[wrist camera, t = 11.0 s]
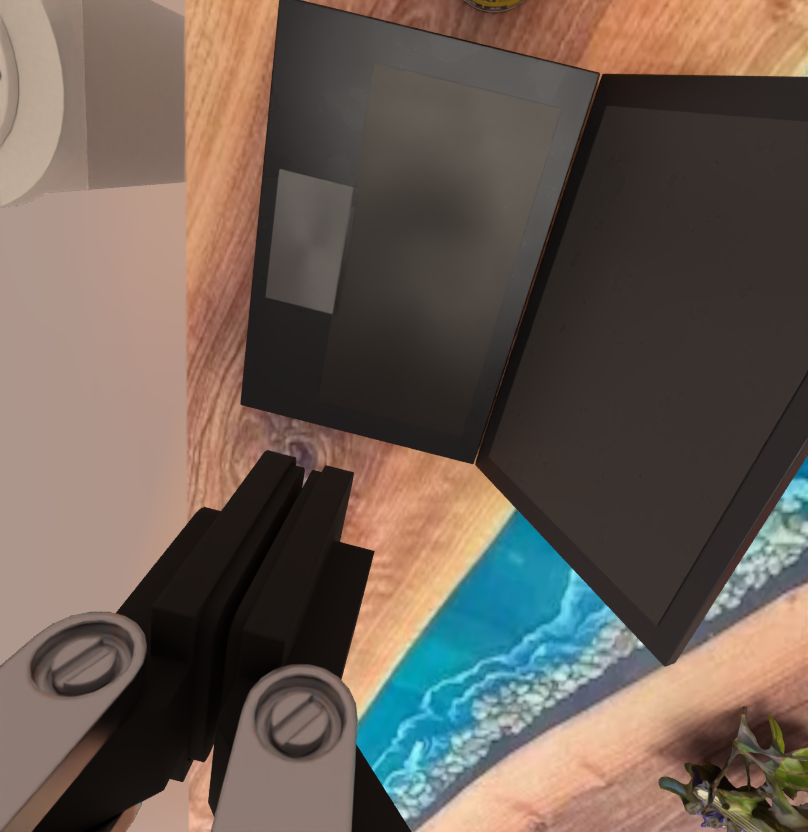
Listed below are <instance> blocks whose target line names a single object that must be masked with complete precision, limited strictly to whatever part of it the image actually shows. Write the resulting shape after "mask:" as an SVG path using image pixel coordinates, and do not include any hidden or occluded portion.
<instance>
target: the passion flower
mask: <svg viewBox="0 0 808 832" xmlns="http://www.w3.org/2000/svg"><path fill="white" fill-rule="evenodd" d="M746 712H747V707H743V713H742V718H741V725H740V729H739V732H738V736H737V738H736V739H735V740H733V741H732V754H731V755H730V756H729V758H728V760H727V761H726V763H725V765H724V767H723V769H722V770H721V769H720V768H719V767H718V766H715V765H713V764H711V763H709V762H706V763H704V764H703V765H702V766H701V765H695V764H690V763H685V765H684V766H685V769H686V770H687V772H688V773H689V774H690V775H691V777H692V778H691V781H690V782H689V784H686V785H685V784H682V783H680V782H679V781H677V780H675V779H673V778H670V777H661V778H660V779H659V785H660V788H661V789H665V790H668V791H670V792H673V793H675V794H677V795H678V796H679V797H680V799H681V800H682V802H683V804H684V807H685V809H686V811H687V812H688V813H689V814H690V815H692V814H693V815H700V816H701V817H703V819H704V820H705V821H704V822H703V823H702V824H701V827H712V828H715V829H717V828H727V832H808V803H806V804H803V805H801V804H800V807H799V806H793V805H790V803H789V802H788V800H787V799H786V797H785V795H784V794H783V792H782V790H783V791H784V793H785V794H786V795H787V796H788V797H790V798H791V799H792V800H794V799H793V798H795V797H796V796H797V795H796V794H797V792H798V791H806V792H808V743H807V744H806V745H805V746H802V747H801V748H798V749H796V750H794V751H790V752H788V753H787V754H784V742H783V738H782V732H781V729H780V727H779V726H778V724H777V722H776V721H775V720H774V719H773V718H772V717H771V716H770V715H767V716H768V720H769V724H770V728H771V732H772V737H773V739H772V744H771V747H770V748H769V749H768V750H763V749H762V748H760V747H759V745H758V743H757V741H756V737H755V736H754V734H753V733H752V732H751V731H750V729H749V727H748V725H747V721H746ZM749 752H752V753H762V754H765V755H767V756H769V757H770V758H771V760H770V761H767V762H763V761H761V760H758V759H756V758H755V757H754V756H753V755H751V754H750V753H749ZM738 754H742V755H743V756H744V759H745V766H746V771H747V777H748V785H746V786H742V787H740V788H736V787H734V786H733V785H732V784H731V783H730V782H729V781H728V779H727V778H726V776H725V773H726V772H727V769H728V767H729V765H730V764H731V762H732V761H733V759H734V758H735V757H736V755H738ZM750 763H755V764H757V765H758V766H759V767H760V768H761V769H762V770H763V772H764V773H765V776H766V782H765V783H764V784H763V785H762V786H760V787H758V788H757V789H756V788H754V787H752V786H751V785H750V775H749V764H750ZM766 797H768V798H770V799H772V807H771V806H770V805H769V804H768V802H767V801H766V800H765V798H766Z"/></svg>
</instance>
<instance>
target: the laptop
mask: <svg viewBox="0 0 808 832" xmlns="http://www.w3.org/2000/svg"><path fill="white" fill-rule="evenodd" d="M599 76H600V73H598V72H594V71H590V70H586V69H582V68H578V67H574V66H569V65H565V64H561V63H557V62H553V61H549V60H545V59H541V58H537V57H532V56H528V55H524V54H520V53H516V52H512V51H508V50H504V49H500V48H495V47H491V46H487V45H483V44H479V43H475V42H471V41H467V40H463V39H458V38H454V37H450V36H446V35H442V34H438V33H434V32H430V31H426V30H421V29H417V28H413V27H409V26H405V25H401V24H397V23H393V22H389V21H384V20H380V19H376V18H372V17H368V16H364V15H360V14H356V13H352V12H347V11H343V10H339V9H335V8H331V7H327V6H323V5H319V4H315V3H310V2H306V1H302V0H279V9H278V19H277V29H276V40H275V50H274V61H273V71H272V81H271V92H270V102H269V113H268V123H267V133H266V144H265V154H264V165H263V175H262V185H261V196H260V206H259V217H258V227H257V237H256V248H255V258H254V269H253V279H252V289H251V300H250V310H249V321H248V331H247V341H246V352H245V362H244V373H243V383H242V393H241V405H243V406H247V407H251V408H255V409H259V410H263V411H267V412H271V413H275V414H279V415H282V416H286V417H290V418H294V419H298V420H302V421H306V422H310V423H314V424H318V425H322V426H325V427H329V428H333V429H337V430H341V431H345V432H349V433H353V434H357V435H361V436H365V437H368V438H372V439H376V440H380V441H384V442H388V443H392V444H396V445H400V446H404V447H407V448H411V449H415V450H419V451H423V452H427V453H431V454H435V455H439V456H443V457H447V458H450V459H454V460H458V461H462V462H466V463H470V464H474V461H475V458H476V455H477V452H478V449H479V446H480V442H481V439H482V436H483V433H484V430H485V427H486V424H487V421H488V418H489V415H490V412H491V409H492V406H493V402H494V399H495V396H496V393H497V390H498V387H499V384H500V381H501V378H502V375H503V372H504V369H505V365H506V362H507V359H508V356H509V353H510V350H511V347H512V344H513V341H514V338H515V335H516V332H517V328H518V325H519V322H520V319H521V316H522V313H523V310H524V307H525V304H526V301H527V298H528V295H529V291H530V288H531V285H532V282H533V279H534V276H535V273H536V270H537V267H538V264H539V261H540V258H541V255H542V251H543V248H544V245H545V242H546V239H547V236H548V233H549V230H550V227H551V224H552V221H553V218H554V214H555V211H556V208H557V205H558V202H559V199H560V196H561V193H562V190H563V187H564V184H565V181H566V177H567V174H568V171H569V168H570V165H571V162H572V159H573V156H574V153H575V150H576V147H577V144H578V141H579V137H580V134H581V131H582V128H583V125H584V122H585V119H586V116H587V113H588V110H589V107H590V104H591V100H592V97H593V94H594V91H595V88H596V85H597V82H598V79H599Z"/></svg>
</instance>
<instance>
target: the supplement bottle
mask: <svg viewBox="0 0 808 832" xmlns="http://www.w3.org/2000/svg"><path fill="white" fill-rule="evenodd" d="M464 1H466V2H467V3H468V4H469V5H471V6H472V7H474V8H476V9H479V10H482V11H485V12H503V11H507V10H510V9H512V8H515V7H517V6H518V5H520V4H522V3H523V2H524V1H525V0H464Z"/></svg>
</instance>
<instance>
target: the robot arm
mask: <svg viewBox="0 0 808 832" xmlns="http://www.w3.org/2000/svg"><path fill="white" fill-rule="evenodd" d="M18 95H19V94H18V72H17V67H16V62H15V57H14V52H13V48H12V45H11V42H10V40H9V37H8V34H7V31H6V28H5V26H4V24H3V22H2V20H1V18H0V145H2V143H3V141H4V140H5V138H6V137H7V135H8V133H9V132H10V130H11V127H12V124H13V121H14V118H15V115H16V110H17V102H18ZM304 473H305V469H304V468H303V467H300V466H296V458H295V457H292V456H288V455H284V454H280V453H276V452H272V451H268V450H267V451H265V452H264V453H263V455H262V456H261V458H260V459H259V460H258V462H257V463H256V464H255V466H254V467H253V468H252V470H251V471H250V473H249V474H248V475H247V477H246V478H245V479H244V481H243V482H242V484H241V485H240V486H239V488H238V489H237V490H236V492H235V493H234V494H233V496H232V497H231V499H230V500H229V501H228V503H227V504H226V505H225V507H224V508H223V509H222V511H218V510H214V509H210V508H207V507H203V508H201V509H199V510H198V511H197V512H196V513H195V515H194V516H193V517H192V518H191V520H190V521H189V522H188V523H187V525H186V526H185V528H183V530H182V531H181V532H180V534H179V535H178V536H177V537H176V538H175V540H174V541H173V542H172V543H171V545H170V546H169V547H168V548H167V550H166V551H165V552H164V553H163V555H162V556H161V557H160V559H159V560H158V561H157V563H155V565H154V566H153V567H152V568H151V570H150V571H149V572H148V574H147V575H146V576H145V577H144V578H143V580H142V581H141V582H140V583H139V585H138V586H137V587H136V589H135V590H134V591H133V592H132V593H131V595H130V596H129V597H128V599H127V600H126V601H125V602H124V604H123V605H122V606H121V607H120V609H119V610H118V611H117V612H116V613H112V612H87V613H83V614H78V615H73V616H70V617H68V618H65V619H63V620H60V621H58V622H56V623H53V624H52V625H50V626H49V627H47V628H46V629H44V630H43V631H41V632H40V633H39V634H37V635H36V636H34V637H33V638H32V639H31V640H30V641H29V642H27V643H26V644H25V645H24V646H23V647H22V648H21V649H19V650H18V651H17V652H16V653H15V654H14V655H12V656H11V657H10V658H9V659H8V660H6V661H5V662H4V663H3V664H2V665H0V832H126V831H127V829H128V828H129V827H130V825H131V824H132V822H133V821H134V819H135V817H136V815H137V813H138V811H139V809H140V807H141V805H142V801H144V800H146V799H148V798H150V797H152V796H154V795H156V794H157V793H159V792H161V791H163V790H164V789H165V787H166V785H167V783H168V781H169V779H173V780H176V781H180V782H183V781H184V779H185V777H186V775H187V773H188V771H189V769H190V767H191V765H192V762H193V760H197V761H201V762H205V761H206V759H207V758H208V756H209V754H210V752H211V750H212V747H213V745H214V751H213V760H212V770H211V779H210V789H209V799H208V803H209V805H210V808H211V810H212V813H213V815H214V821H213V825H212V829H211V832H411V830H410V829H409V827H408V825H407V824H406V822H405V821H404V819H403V818H402V816H401V814H400V813H399V811H398V810H397V808H396V806H395V805H394V803H393V802H392V800H391V799H390V797H389V795H388V794H387V792H386V791H385V789H384V787H383V786H382V784H381V783H380V781H379V780H378V778H377V776H376V775H375V773H374V772H373V770H372V768H371V767H370V765H369V764H368V762H367V760H366V759H365V757H364V756H363V754H362V753H361V751H360V749H359V748H358V746H357V745H356V739H357V721H358V719H357V710H356V703H355V701H354V699H353V696H352V694H351V692H350V690H349V688H348V687H347V686H346V685H345V684H344V683H343V682H342V680H341V679H342V675H343V672H344V668H345V664H346V660H347V656H348V653H349V649H350V645H351V641H352V638H353V634H354V630H355V626H356V622H357V618H358V615H359V611H360V607H361V603H362V599H363V595H364V591H365V587H366V583H367V579H368V575H369V571H370V567H371V563H372V559H373V555H374V551H372V550H368V549H365V548H361V547H357V546H353V545H349V544H345V543H341V542H340V539H341V534H342V529H343V524H344V520H345V515H346V510H347V506H348V501H349V496H350V492H351V487H352V482H353V476H354V472H350V471H346V470H342V469H338V468H334V467H331V466H327V465H326V466H325V467H324V468H323V470H322V472H319V471H315V470H312V471H311V473H310V475H309V477H308V479H307V480H306V482H305V484H304V486H303V480H304ZM302 486H303V488H302Z"/></svg>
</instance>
